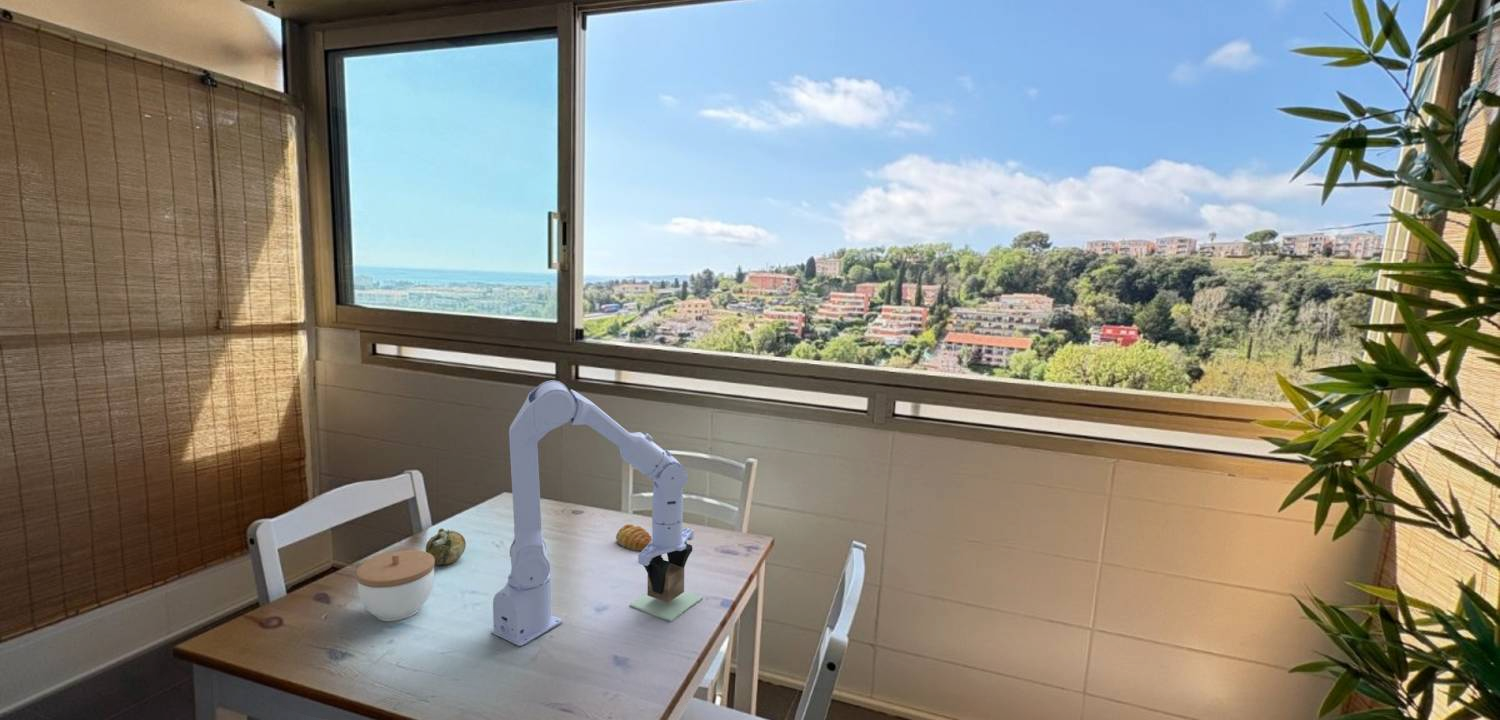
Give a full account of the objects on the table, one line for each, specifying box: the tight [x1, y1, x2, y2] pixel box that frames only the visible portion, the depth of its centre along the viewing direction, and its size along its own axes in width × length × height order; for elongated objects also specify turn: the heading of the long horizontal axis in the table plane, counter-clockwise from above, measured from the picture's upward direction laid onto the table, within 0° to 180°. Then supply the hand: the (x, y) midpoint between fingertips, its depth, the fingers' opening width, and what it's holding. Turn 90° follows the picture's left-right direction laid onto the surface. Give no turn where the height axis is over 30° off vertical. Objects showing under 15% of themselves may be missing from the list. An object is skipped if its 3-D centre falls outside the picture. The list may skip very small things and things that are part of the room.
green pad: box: [629, 590, 704, 622], centre depth 124 cm, size 10×10×1 cm
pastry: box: [615, 524, 652, 552], centre depth 150 cm, size 9×7×4 cm
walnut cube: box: [647, 563, 685, 603], centre depth 123 cm, size 5×5×5 cm
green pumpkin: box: [425, 528, 467, 566], centre depth 138 cm, size 8×8×8 cm
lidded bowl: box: [355, 549, 436, 622], centre depth 117 cm, size 13×13×11 cm
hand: (666, 586), depth 123 cm, fingers closed on walnut cube, 5 cm apart
